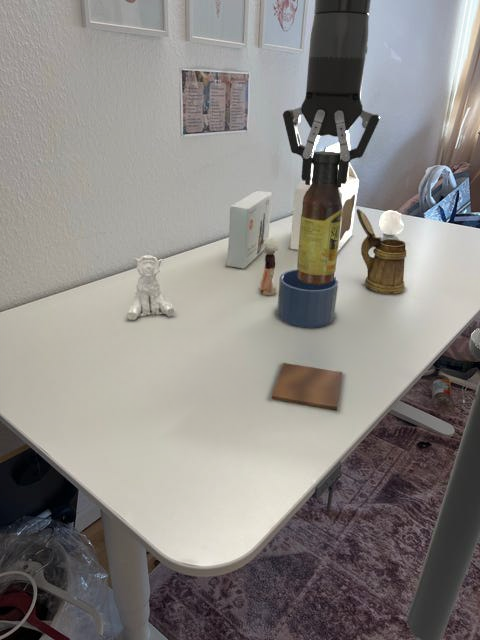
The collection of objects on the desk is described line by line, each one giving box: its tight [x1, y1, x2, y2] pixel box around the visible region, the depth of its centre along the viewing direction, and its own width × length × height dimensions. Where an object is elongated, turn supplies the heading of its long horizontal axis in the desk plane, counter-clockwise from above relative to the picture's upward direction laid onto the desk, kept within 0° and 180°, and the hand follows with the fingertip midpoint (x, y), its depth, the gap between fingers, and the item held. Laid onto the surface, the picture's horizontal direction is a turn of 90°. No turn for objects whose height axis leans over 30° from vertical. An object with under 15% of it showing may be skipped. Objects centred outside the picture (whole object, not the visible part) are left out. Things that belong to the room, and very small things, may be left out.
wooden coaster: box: [271, 362, 343, 411], centre depth 77 cm, size 10×10×1 cm
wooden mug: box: [356, 208, 407, 295], centre depth 112 cm, size 9×14×18 cm, turn 69°
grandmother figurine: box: [259, 238, 280, 296], centre depth 108 cm, size 8×4×13 cm, turn 12°
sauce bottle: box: [296, 150, 343, 285], centre depth 74 cm, size 7×6×20 cm
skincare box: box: [226, 190, 273, 269], centre depth 129 cm, size 21×5×16 cm, turn 160°
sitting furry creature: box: [126, 254, 175, 321], centre depth 98 cm, size 10×9×12 cm
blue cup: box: [277, 268, 339, 329], centre depth 99 cm, size 12×12×8 cm
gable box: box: [289, 141, 360, 252], centre depth 139 cm, size 22×13×28 cm, turn 156°
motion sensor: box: [378, 209, 404, 236], centre depth 152 cm, size 8×8×8 cm
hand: (323, 184), depth 72 cm, fingers closed on sauce bottle, 4 cm apart
